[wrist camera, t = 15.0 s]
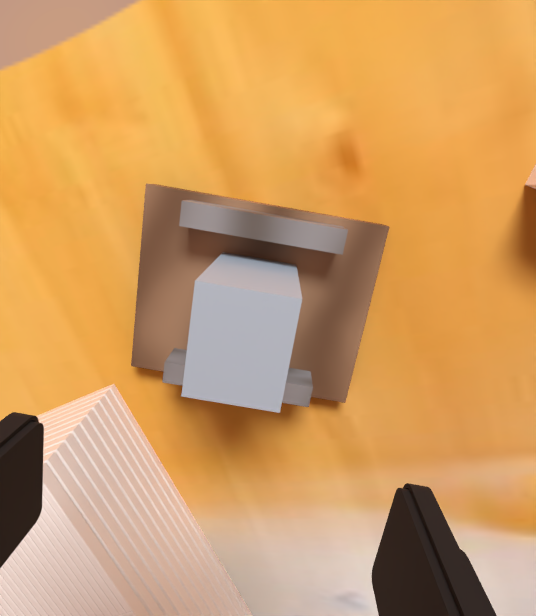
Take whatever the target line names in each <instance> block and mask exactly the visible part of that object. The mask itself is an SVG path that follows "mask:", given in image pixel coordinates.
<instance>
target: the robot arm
mask: <svg viewBox="0 0 536 616" xmlns="http://www.w3.org/2000/svg"><path fill="white" fill-rule="evenodd" d="M43 446H44V426H43V424H42V423H39V420H38V418H37V417H36V416H32V415H27V414H21V413H16V412H14V413H11V414H9V415H8V416H6V417H5V418H4V419H3V420H1V421H0V568H1V567H2V566H3V564H4V563H5V562H6V561H7V559H8V558H9V557H10V555H11V554H12V553H13V552H14V550H15V549H16V548H17V546H18V545H19V544H20V543H21V541H22V540H23V539H24V537H25V536H26V535H27V534H28V532H29V531H30V530H31V528H32V527H33V526H34V525H35V523H36V522H37V520H38V518H39V516H40V514H41V510H42V491H43ZM372 585H373V590H374V594H375V599H376V604H377V608H378V613H379V616H496V613H495V611H494V609H493V607H492V605H491V603H490V601H489V599H488V597H487V595H486V593H485V591H484V589H483V587H482V585H481V583H480V581H479V579H478V577H477V575H476V573H475V571H474V569H473V567H472V565H471V563H470V561H469V559H468V557H467V556H466V554H465V552H463V551H462V550H461V549H459V546H458V544H457V542H456V540H455V538H454V536H453V534H452V532H451V530H450V528H449V526H448V524H447V521H446V519H445V517H444V515H443V513H442V511H441V509H440V507H439V505H438V503H437V501H436V499H435V497H434V494H433V492H432V491H431V489H430V488H429V487H425V486H419V485H414V484H408V483H407V484H405V485H404V487H403V488H398V489H397V490H396V493H395V496H394V499H393V503H392V506H391V509H390V513H389V516H388V519H387V522H386V526H385V529H384V532H383V535H382V539H381V542H380V545H379V548H378V552H377V555H376V558H375V562H374V565H373V569H372Z"/></svg>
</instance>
